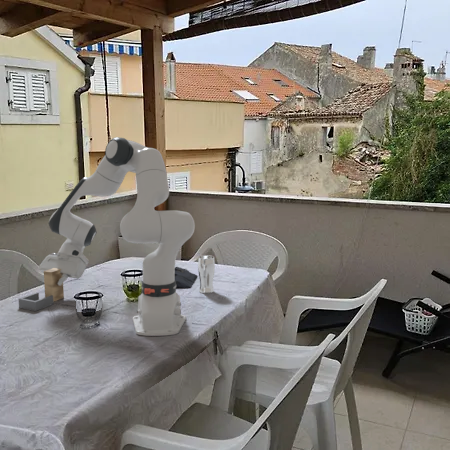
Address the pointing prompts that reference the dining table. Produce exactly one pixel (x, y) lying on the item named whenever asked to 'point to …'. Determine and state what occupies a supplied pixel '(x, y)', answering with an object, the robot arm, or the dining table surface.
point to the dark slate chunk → (184, 278)
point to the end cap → (35, 302)
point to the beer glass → (206, 273)
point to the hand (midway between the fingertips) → (52, 284)
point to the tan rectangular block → (53, 284)
